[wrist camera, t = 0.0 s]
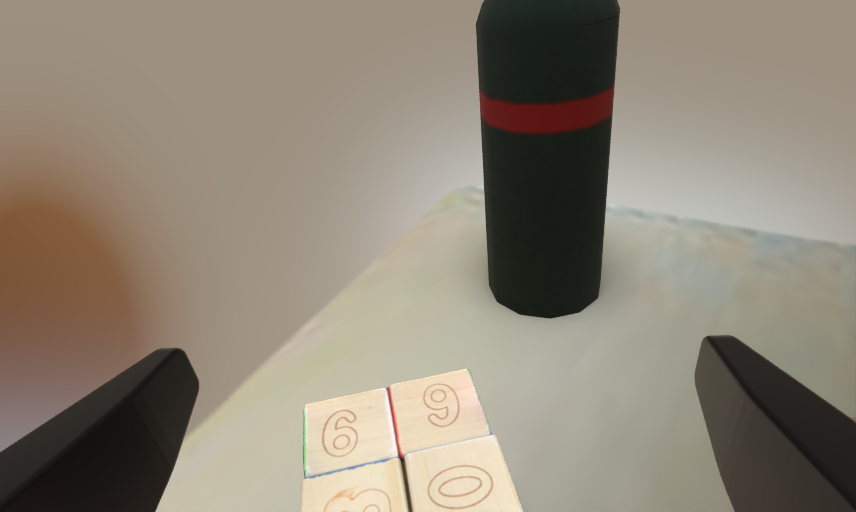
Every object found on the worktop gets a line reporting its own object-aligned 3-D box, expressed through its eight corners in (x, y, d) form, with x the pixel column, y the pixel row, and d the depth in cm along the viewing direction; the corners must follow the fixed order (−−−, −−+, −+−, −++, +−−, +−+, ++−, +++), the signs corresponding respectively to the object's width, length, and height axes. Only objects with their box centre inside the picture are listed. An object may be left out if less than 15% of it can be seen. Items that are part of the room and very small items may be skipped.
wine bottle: (627, 252, 40) (688, -304, 24) (575, 332, 33) (613, -366, 17) (531, 231, 44) (528, -255, 28) (469, 297, 37) (418, -290, 21)
